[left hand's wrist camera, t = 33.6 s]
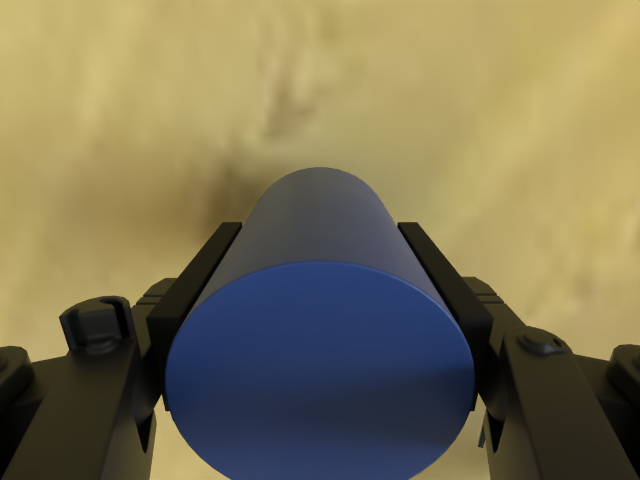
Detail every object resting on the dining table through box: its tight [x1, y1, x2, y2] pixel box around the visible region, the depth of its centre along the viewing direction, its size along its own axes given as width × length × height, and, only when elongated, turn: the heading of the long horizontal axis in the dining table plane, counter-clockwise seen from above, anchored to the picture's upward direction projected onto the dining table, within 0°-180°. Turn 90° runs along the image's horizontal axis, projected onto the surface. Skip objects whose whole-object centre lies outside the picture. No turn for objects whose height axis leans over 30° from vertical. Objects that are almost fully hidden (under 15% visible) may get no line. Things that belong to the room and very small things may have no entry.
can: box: [165, 167, 475, 480], centre depth 11 cm, size 6×6×9 cm
